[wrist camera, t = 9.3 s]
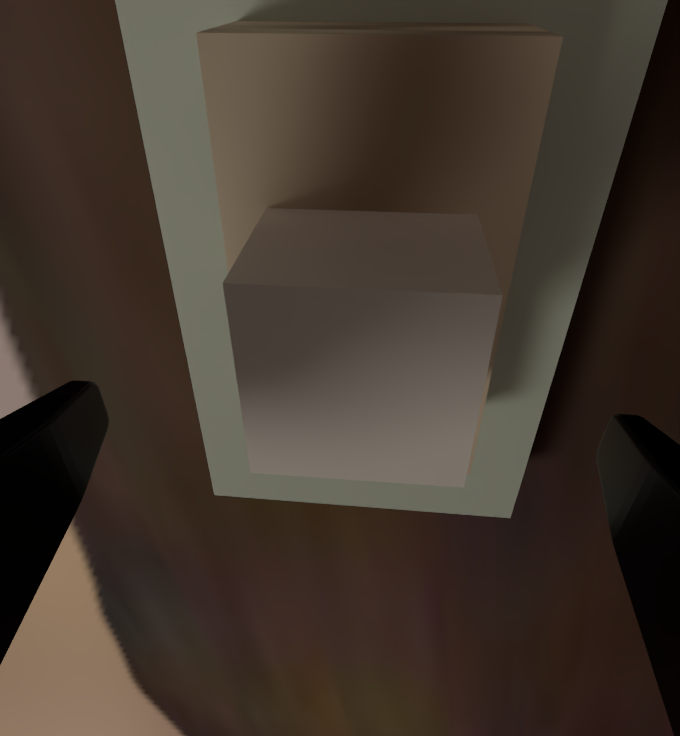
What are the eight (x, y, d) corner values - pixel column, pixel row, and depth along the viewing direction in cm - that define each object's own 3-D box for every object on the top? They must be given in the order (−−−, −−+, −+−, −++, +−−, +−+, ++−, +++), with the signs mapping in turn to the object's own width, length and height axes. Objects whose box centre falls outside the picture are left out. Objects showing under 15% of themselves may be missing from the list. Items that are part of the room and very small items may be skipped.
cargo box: (477, 214, 11) (502, 294, 8) (451, 383, 14) (464, 487, 11) (265, 208, 12) (222, 283, 9) (280, 374, 14) (250, 473, 11)
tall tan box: (529, 23, 12) (562, 36, 9) (461, 407, 18) (470, 474, 16) (236, 20, 12) (196, 32, 10) (272, 396, 19) (253, 458, 16)
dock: (701, -314, 11) (788, -398, 8) (499, 462, 24) (510, 517, 21) (116, -297, 11) (40, -368, 9) (232, 443, 25) (214, 494, 22)
